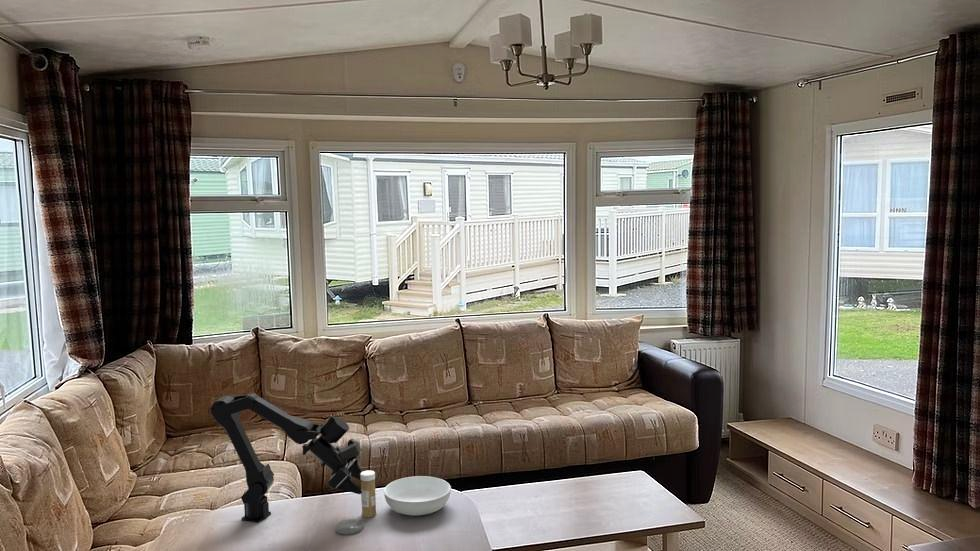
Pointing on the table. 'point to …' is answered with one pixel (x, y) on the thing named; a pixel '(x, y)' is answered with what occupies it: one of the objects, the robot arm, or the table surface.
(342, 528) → the coaster
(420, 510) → the serving bowl
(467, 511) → the table surface
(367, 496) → the sprinkles bottle
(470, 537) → the table surface
